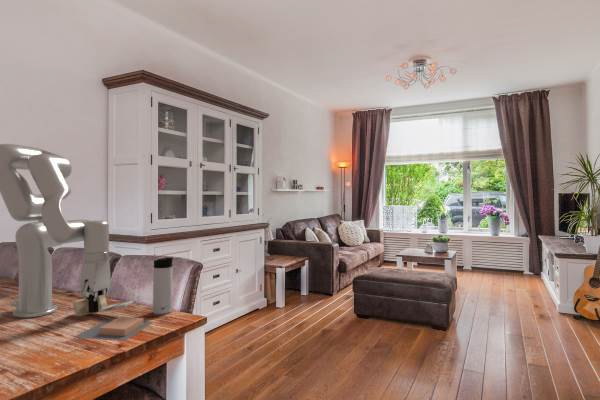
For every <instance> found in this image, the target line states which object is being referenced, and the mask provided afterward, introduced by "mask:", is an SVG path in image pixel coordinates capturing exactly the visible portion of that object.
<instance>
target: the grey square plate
mask: <svg viewBox="0 0 600 400" xmlns="http://www.w3.org/2000/svg"><path fill="white" fill-rule="evenodd" d="M113 320H114V319H110V318H107V319H106V320H104V321H101V322H100V323H98V324H96V325H94V326H92V327H90V328H88V329H86V330H85V331H83V332H80V333H79V334H76V335H74V336H73V338H75V339H76V338H78V339H92V340H105V341H107V340H108V341H109V340H110V341H122V342H124V341H127V340H128V339H130V338H132V337H134V336H135V335H136V334H138V333H140V332H141V331H143V330H144V329H145V328H148V327H149V326H150V325H152V324H153V323H154V321H144V320H143V325H142V326H140V327H139V328H137V329H136V330H134V331H132V332H131V333H129V334H128V335H126V336H115V335H100V327H102V326H104V325H106V324H108V323H109V322H111V321H113Z"/></svg>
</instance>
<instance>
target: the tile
mask: <svg viewBox="0 0 600 400" xmlns="http://www.w3.org/2000/svg"><path fill="white" fill-rule="evenodd" d="M112 320H113V321H111V322H109V323H108V324H106V325H104V326H102V327H100V335H115V336H126V335H128V334H129V333H131V332H132V331H134V330H136V329H137V328H139V327H140V326H142V325H143V321H144V317H127V316H119V317H117V318H115V319H112Z"/></svg>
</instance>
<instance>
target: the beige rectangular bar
mask: <svg viewBox="0 0 600 400" xmlns="http://www.w3.org/2000/svg"><path fill="white" fill-rule="evenodd" d="M106 297H107V296H106ZM106 297H105V294H104V295H100V296H97V300H98V312H97V313H102V312H107V311H111V310H118V309H120V308H126V307H127V306H130V305H132V304H133V303H134V300H128V301H123V302H119V303H115V304H108V302H107V298H106ZM72 306H73V309H74V316H77V317H78V316H79V317H80V316H81V317H82V316H87V315H92V314H93V313H89V312H88V301H87V298H86V297H85V298H83V299H82V298H81V299H78V300H75V301H73V302H72Z"/></svg>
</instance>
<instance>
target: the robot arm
mask: <svg viewBox="0 0 600 400" xmlns="http://www.w3.org/2000/svg"><path fill="white" fill-rule="evenodd" d="M72 168H73V167H72V165H71V162H70V161H69V159H67V158H66V157H64V156H63V155H59V154H56V153H53V152H50V151H47V150H45V149H42V148H38V147H33V146H28V145H20V144H13V143H2V144H0V195H1V198H2V200H3V202H4V205H5V207H6V208H7V211H8V213H9V215H10V216H11V218H12V219H13V220H15V221H16V222H27V223H24V224H22V225H20V227H19V228H18V229H17V230H16V232H15V244H16V248H17V252H18V299H17V298H15V299H13V301H12V302H10V304H9V306H10V307H15V310H14V311H12V316H13V317H14V318H18V319H19V318H20V319H21V318H22V319H24V318H25V319H26V318H37V317H42V316H47V315H49V314H50V315H51V314H52V313H55V312H56V311H57V310H58V306H57V305H56V304H53V259H52V255H51V253H50V252H49V249H48V248H52V247H60V246H62V245H64V244H70V243H78V242H79V243H80V242H83V262H82V265H81V271H80V278H79V279H80V282H79V289H80V292H81V296H82V297H84V298H85V299H86V298H87V301H88V312H89V313H92V314H97V313H99V312H98V300H97V296H100V295H104V294H105V297H107V292H108V290H109V289H110V288H111V282H112V280H111V275H112V274H111V264H110V226H109V225H110V223H109V222H108V221H106V220H89V219H72V220H71V219H70V220H66V218H65V216H64V214H63V212H62V209H61V202H62V201H63V200H65V199H67V197H69V196H70V195H71V193H72V192H71V191H72V190H71V187H70V186H69V184H68V181H66V179H67V178H69V176H70V175H71V174H72ZM17 170H28V171H29V173H30V175H31V177H32V180H33V181H34V183H35V185H36V187H37V189H38V190H39V192H40V194H35V193H33V191H32V189H31V187H30V185H29V183H28V181H27V179H26V178H25V177H24V176H23V175H22V174H21V173H19V171H17Z"/></svg>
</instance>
